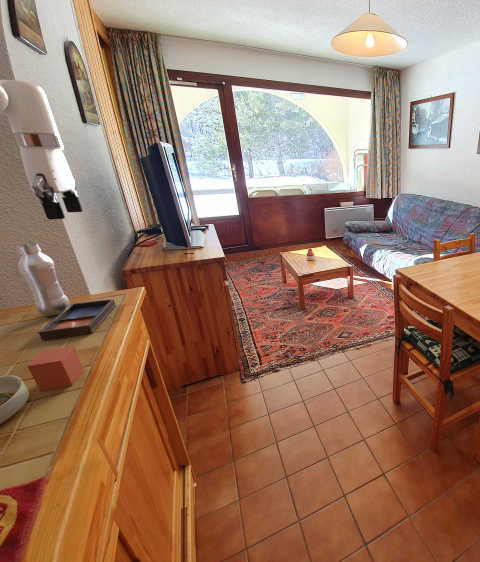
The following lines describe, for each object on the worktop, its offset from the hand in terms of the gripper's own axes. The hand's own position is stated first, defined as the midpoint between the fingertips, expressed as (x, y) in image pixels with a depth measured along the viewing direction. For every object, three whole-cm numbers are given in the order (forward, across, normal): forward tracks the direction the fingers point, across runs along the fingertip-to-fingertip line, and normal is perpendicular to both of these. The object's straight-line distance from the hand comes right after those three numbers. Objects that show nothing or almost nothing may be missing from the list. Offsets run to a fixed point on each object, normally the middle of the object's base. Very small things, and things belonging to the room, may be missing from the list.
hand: (66, 215), depth 79 cm
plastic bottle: (+28, -2, -11) cm, 30 cm away
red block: (+28, +34, +4) cm, 44 cm away
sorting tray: (+28, +6, -2) cm, 28 cm away
